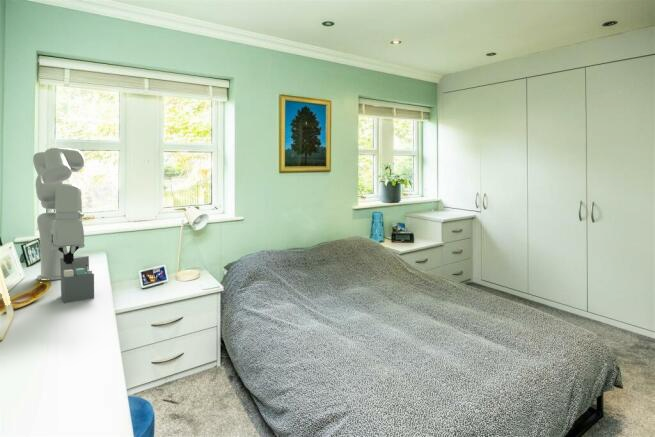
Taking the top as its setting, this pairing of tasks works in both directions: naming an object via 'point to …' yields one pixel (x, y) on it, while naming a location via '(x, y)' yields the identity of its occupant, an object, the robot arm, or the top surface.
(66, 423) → the top surface
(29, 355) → the top surface
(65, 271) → the cream button
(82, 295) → the panel
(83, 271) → the teal button
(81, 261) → the skincare box
